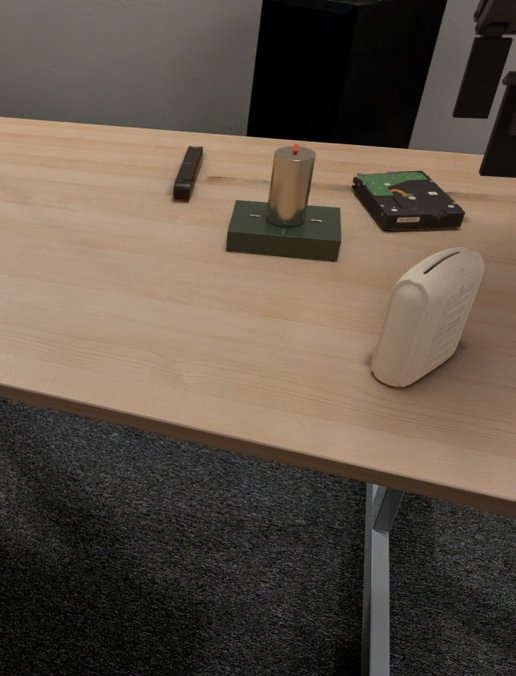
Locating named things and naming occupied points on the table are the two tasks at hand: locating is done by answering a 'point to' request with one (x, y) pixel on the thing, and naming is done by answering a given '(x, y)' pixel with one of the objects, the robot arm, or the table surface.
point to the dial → (290, 185)
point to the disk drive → (407, 201)
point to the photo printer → (427, 315)
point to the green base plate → (285, 233)
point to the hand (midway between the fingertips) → (483, 143)
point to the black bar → (188, 173)
